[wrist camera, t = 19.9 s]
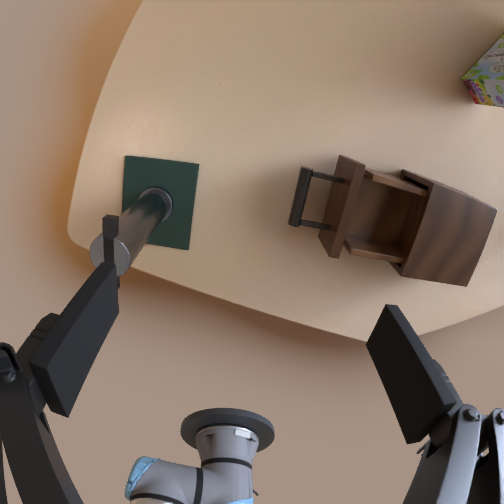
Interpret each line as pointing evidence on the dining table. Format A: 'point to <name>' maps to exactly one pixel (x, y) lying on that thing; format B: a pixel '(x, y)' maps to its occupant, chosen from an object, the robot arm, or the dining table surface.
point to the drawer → (363, 211)
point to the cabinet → (446, 234)
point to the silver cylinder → (131, 230)
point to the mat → (176, 183)
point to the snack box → (488, 77)
